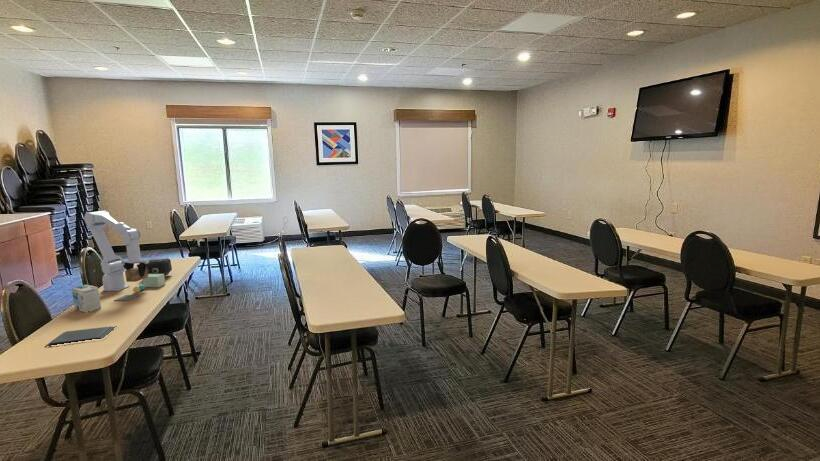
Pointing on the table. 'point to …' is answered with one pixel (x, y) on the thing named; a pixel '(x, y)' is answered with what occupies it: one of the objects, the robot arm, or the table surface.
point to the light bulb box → (86, 298)
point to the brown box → (134, 274)
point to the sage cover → (154, 280)
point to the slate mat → (127, 298)
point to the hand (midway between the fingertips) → (137, 276)
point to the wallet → (81, 335)
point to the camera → (159, 266)
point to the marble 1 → (136, 289)
